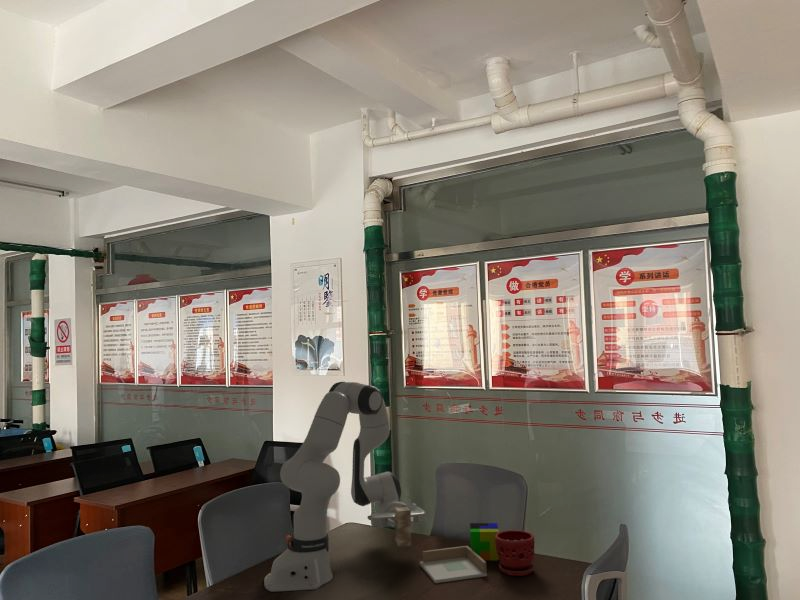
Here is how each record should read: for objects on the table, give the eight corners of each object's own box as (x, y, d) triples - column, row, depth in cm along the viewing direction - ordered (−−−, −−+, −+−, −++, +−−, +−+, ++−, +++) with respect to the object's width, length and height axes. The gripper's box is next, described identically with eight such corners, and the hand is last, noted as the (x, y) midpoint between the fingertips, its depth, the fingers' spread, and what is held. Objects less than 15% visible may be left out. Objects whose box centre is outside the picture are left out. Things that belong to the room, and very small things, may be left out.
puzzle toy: (498, 550, 227) (497, 523, 227) (499, 560, 217) (498, 531, 217) (470, 550, 228) (470, 523, 228) (471, 560, 218) (470, 531, 218)
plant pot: (541, 568, 209) (539, 532, 209) (526, 581, 198) (525, 543, 199) (505, 561, 216) (504, 526, 217) (489, 573, 205) (488, 537, 206)
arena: (435, 583, 198) (434, 569, 199) (419, 564, 215) (419, 551, 215) (486, 576, 203) (486, 562, 203) (467, 558, 219) (467, 545, 220)
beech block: (398, 546, 213) (398, 511, 214) (395, 542, 217) (394, 508, 218) (411, 545, 214) (410, 510, 215) (407, 541, 218) (407, 507, 219)
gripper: (366, 507, 226) (374, 517, 213) (419, 503, 231) (430, 512, 218) (366, 524, 225) (374, 536, 212) (419, 520, 231) (430, 530, 218)
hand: (403, 524), depth 215 cm, fingers closed on beech block, 4 cm apart
